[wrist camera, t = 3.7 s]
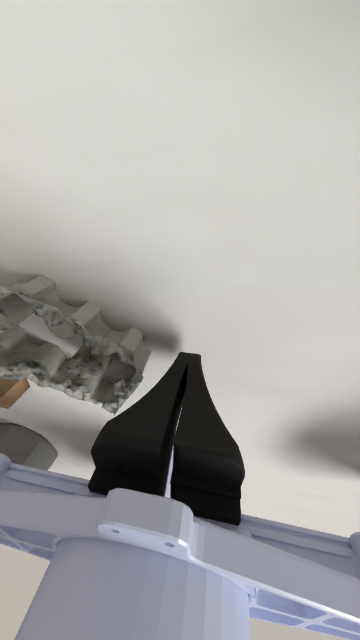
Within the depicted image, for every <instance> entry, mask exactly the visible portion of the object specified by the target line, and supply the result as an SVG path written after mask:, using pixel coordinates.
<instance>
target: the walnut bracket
mask: <svg viewBox="0 0 360 640" xmlns="http://www.w3.org/2000/svg"><path fill="white" fill-rule="evenodd" d="M29 387H30V386H29V383H28V381H27V379H26V378H24V379H21V380H18V381H16V382H15V381H14V380H9V379H5V378H0V407H2V408H7V409H9V408H10V407H11V406H12V405H13V404H14V403H15V402H16V401H17V400H18V399H19V397H20V396H21V395H22V394H23V393H24V392H25V391H26V390H27V389H28V388H29Z"/></svg>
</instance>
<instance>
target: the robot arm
mask: <svg viewBox="0 0 360 640" xmlns="http://www.w3.org/2000/svg"><path fill="white" fill-rule="evenodd" d="M182 404H183V405H182ZM181 408H182V410H181ZM180 412H181V414H180ZM179 415H180V418H179ZM178 419H179V422H178ZM177 423H178V426H177ZM176 427H177V430H176ZM175 433H176V434H175ZM91 455H92V458H93V461H94V463H95V466H96V469H95V471H94V473H93V475H92V477H91V480H86V479H82V478H77V477H73V476H68V475H64V474H59V473H55V472H50V471H46V470H41V469H37V468H32V467H28V466H23V465H19V464H14V463H11V460H10V459H9V457H7V456H6V455H4V454H2V453H0V544H3V545H6V546H10V547H12V548H15V549H18V550H21V551H24V552H27V553H29V554H32V555H35V556H38V557H41V558H44V559H47V560H49V561H50V564H49V566H48V568H47V570H46V572H45V574H44V577H43V579H42V581H41V583H40V585H39V587H38V590H37V592H36V594H35V596H34V598H33V601H32V603H31V605H30V607H29V609H28V611H27V613H26V616H25V618H24V620H23V622H22V624H21V626H20V629H19V631H18V633H17V635H16V637H15V639H14V640H251V630H250V618H254V619H258V620H263V621H267V622H272V623H277V624H281V625H286V626H290V627H295V628H300V629H304V630H309V631H313V632H318V633H322V634H327V635H331V636H335V637H340V638H345V639H349V640H360V532H355V533H353V534H352V535H351V536H350V537H349V538H347V537H342V536H338V535H333V534H329V533H324V532H320V531H315V530H311V529H306V528H302V527H297V526H293V525H288V524H284V523H280V522H275V521H271V520H266V519H262V518H257V517H253V516H248V515H244V514H241V509H240V499H241V485H242V482H243V480H244V477H245V469H244V464H243V460H242V456H241V453H240V450H239V447H238V445H237V443H236V442H235V440H234V439H233V438H232V436H231V435H230V433H229V431H228V430H227V428H226V427H225V425H224V423H223V421H222V420H221V418H220V416H219V414H218V412H217V410H216V408H215V406H214V404H213V402H212V399H211V397H210V394H209V392H208V389H207V386H206V383H205V379H204V375H203V371H202V365H201V356H200V355H199V354H192V353H184V352H180V353H179V355H178V356H177V358H176V360H175V361H174V363H173V364H172V366H171V367H170V368H169V370H168V371H167V372H166V374H165V375H164V376H163V377H162V378H161V380H160V381H159V382H158V383H157V384H156V385H155V386H154V387H153V388H152V389H151V390H150V391H149V392H148V393H147V394H146V395H145V396H143V397H142V398H141V399H140V400H139V401H137V402H136V403H135V404H134V405H132V406H131V407H129V408H128V409H127V410H125V411H124V412H122V413H121V414H119V415H118V416H116V417H114V418H113V419H111V420H109V421H108V422H107V423H106V424H105V426H104V427H103V428H102V430H101V432H100V433H99V435H98V437H97V439H96V441H95V443H94V445H93V447H92V449H91Z"/></svg>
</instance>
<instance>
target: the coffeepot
mask: <svg viewBox="0 0 360 640" xmlns="http://www.w3.org/2000/svg"><path fill="white" fill-rule="evenodd" d="M0 453H2V454H4V455H6V456H7V457H9V459H10V460H11V463H14V464H19V465H23V466H28V467H32V468H37V469H41V470H46V471H48V469H49V468H50V467H51V466H52V464H53V462H54V461H55V459H56V458H57V456H58V455H57V452H56V450H55V448H54V447H53V446H52V444H51V443H50V442H48V441H47V440H46V439H45V438H44V437H42V436H41V435H39V434H37V433H36V432H34V431H32V430H30V429H27V428H25V427H22V426H19V425H15V424H11V423H0Z"/></svg>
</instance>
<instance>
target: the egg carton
mask: <svg viewBox="0 0 360 640" xmlns="http://www.w3.org/2000/svg"><path fill="white" fill-rule="evenodd" d="M33 309H34V310H35V315H38V316H39V317H43V318H45V319H47V320H46V323H47V325H48V328H49V329H50V331H51V332H53V333H54V334H55V335H57V336H58V337H60V338H67V339H68V338H71V337H73V336H74V335H75V329H76V333H77V334H79V335H82V336H83V344H84V345H83V346H82V347H81V348H80V349H79V350H78V351H77V352H76V354H75V355H74V356H73V357H72V358H71V359H70V360H69V361H67V360H66V355H65V353H64V352H63V351H62V349H61V348H60V347H58V346H57V345H54V344H52V343H43V344H41V345H40V346H39V345H37V344H35V343H33V342H31V341H30V340H29V339H28V337H27V334H26V333H25V331H24V330H23V329H22V328H21V327H20V326H19V325H17V324H18V323H19V322H21V321H23V320H24V319H26V318H27V317H29V316H30V315H31V314H32V313H33ZM76 325H80V326H81V328H79V329H77V328H76ZM143 336H144V333H143V332H142V331H140V330H138V329H137V328H135V327H131V328H129V329H128V330H126V331H115V330H113V329H111V328H109V327H108V326H107V325H106V324H105V323H104V322H103V320H102V317H101V308H99V307H98V306H96V305H94V304H93V303H91V302H87V303H85V304H84V305H83V306H80V307H73V306H70V305H68V304H66V303H65V302H64V301H62V300H61V299H60V297H59V296H58V294H57V292H56V290H55V282H53V281H52V280H50V279H49V278H47V277H45V276H43V275H39V276H37V277H36V278H34V279H32V280H30V281H18V282H16V283H14V284H12V285H10V286H7V287H4V286H2V285H0V378H5V379H9V380H14V381H15V382H16V381H18V380H21V379H24V378H27V379H30V380H31V381H33V382H35V383H36V384H37V385H38V386H40V387H42V388H44V387H51V388H53V389H56V390H59V391H63V392H64V393H65V394H67V395H68V396H69V397H72V398H76V399H79V400H83V401H92V402H93V403H94V404H103V405H102V408H104V409H106V410H107V411H108V412H110V413H114V415H115V413H116V412H117V410H118V409H119V408H120V407H121V406H122V405H123V404H124V402H125V401H126V400H127V399H128V398H129V397H130V395H131V394H132V393H133V392H134V391H135V389H136V388H137V387H138V385H139V384H140V382H141V381H142V379H143V376H142V373H143V371H144V368H145V365H146V363H147V361H148V359H149V356H150V355H151V351H150V350H149V349H148V348H147V347H146V346H145V344H144V342H143ZM115 353H118V359H119V360H120V361H121V363H123V364H125V366H124V367H123V369H122V371H121V373H120V375H119V376H118V378H117V380H116V381H115V382H114V383H113V384H112V383H109V382H107V381H105V380H104V379H102V374H103V373H104V371H105V370H106V368H107V367H108V365H109V364H110V362H111V361H112V360H113V358H114V356H115Z"/></svg>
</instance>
